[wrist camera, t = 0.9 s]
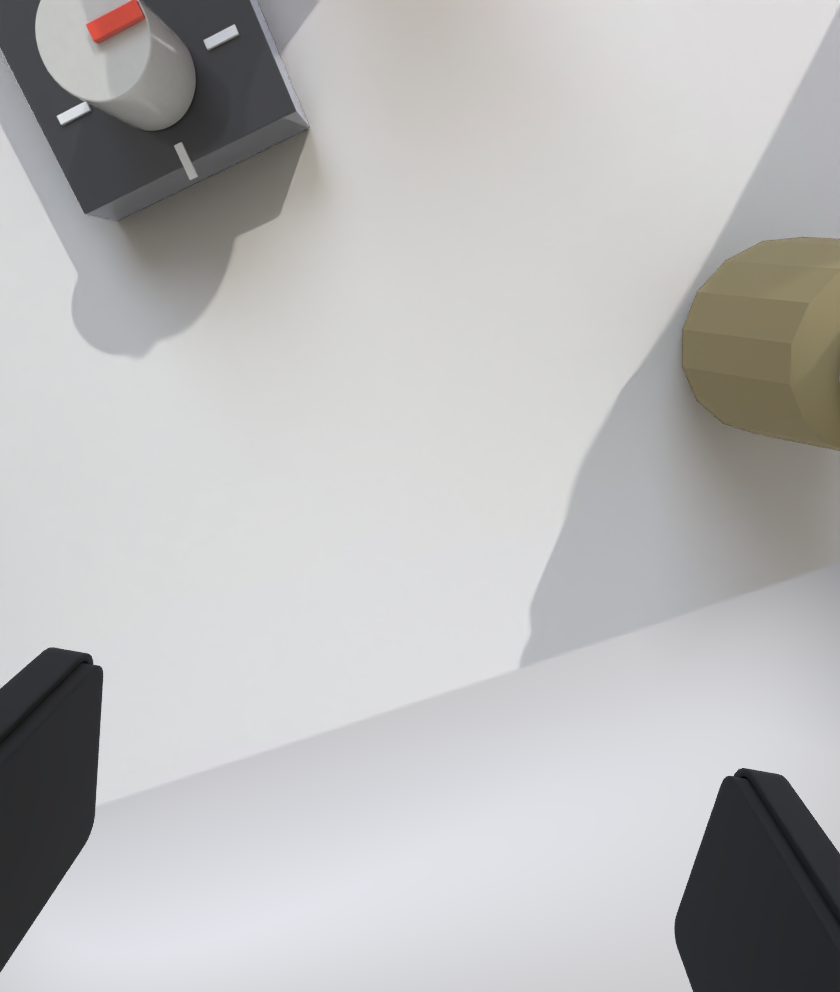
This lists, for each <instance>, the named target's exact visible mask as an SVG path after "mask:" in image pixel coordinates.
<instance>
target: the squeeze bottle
mask: <svg viewBox="0 0 840 992" xmlns="http://www.w3.org/2000/svg"><path fill="white" fill-rule="evenodd" d="M682 368H683V370H684V372H685V374H686V377H687V379H688V381H689V384H690V386H691V388H692V390H693V393H694V395H695V397H696V400H697V401H698V402H699V403H700V404H702V405H703V406H704V407H705V408H706V409H707V410H708V411H709V412H711V413H712V414H713V415H714V416H715V417H716V418H717V419H718V420H720V421H721V422H722V423H723V424H726V425H730V426H733V427H736V428H739V429H742V430H746V431H749V432H752V433H755V434H759V435H764V436H769V437H774V438H779V439H784V440H789V441H794V442H799V443H804V444H809V445H814V446H819V447H824V448H829V449H834V450H839V451H840V239H832V238H812V237H798V238H789V239H779V240H770V241H762V242H760V243H758V244H756V245H754V246H752V247H751V248H749V249H747V250H745V251H743V252H741V253H739V254H737V255H735V256H733V257H731V258H730V259H728V260H726V261H725V262H724V263H723V264H722V265H721V266H720V267H719V268H718V269H717V271H716V272H715V273H714V274H713V275H712V276H711V277H710V278H709V279H708V281H707V282H706V283H705V284H704V285H703V286H702V287H701V288H700V289H699V291H698V292H697V294H696V296H695V299H694V301H693V303H692V306H691V308H690V311H689V313H688V316H687V318H686V321H685V324H684V326H683V329H682Z"/></svg>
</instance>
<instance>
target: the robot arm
mask: <svg viewBox="0 0 840 992" xmlns="http://www.w3.org/2000/svg"><path fill="white" fill-rule="evenodd" d="M102 686H103V670H102V668H101V667H100V666H97V665H93V659H92V656H91V655H90V654H87V653H82V652H76V651H70V650H64V649H59V648H48V649H46V650H44V651H43V652H42V653H41V654H40V655H39V656H37V657H36V658H35V659H34V660H33V661H32V662H31V663H29V664H28V665H27V666H26V667H25V668H24V669H22V670H21V671H20V672H19V673H18V674H17V675H16V676H14V677H13V678H12V679H11V680H10V681H9V682H8V683H6V684H5V685H4V686H3V687H2V688H1V689H0V972H1V970H2V969H3V967H4V966H5V964H6V963H7V961H8V960H9V958H10V957H11V955H12V954H13V952H14V951H15V949H16V948H17V946H18V945H19V943H20V942H21V940H22V939H23V937H24V936H25V934H26V933H27V931H28V930H29V928H30V927H31V925H32V924H33V922H34V921H35V919H36V918H37V916H38V915H39V913H40V912H41V910H42V909H43V907H44V906H45V904H46V903H47V901H48V900H49V898H50V897H51V895H52V893H53V892H54V890H55V889H56V888H57V886H58V884H59V883H60V881H61V880H62V878H63V877H64V875H65V874H66V872H67V871H68V869H69V868H70V866H71V865H72V863H73V862H74V860H75V859H76V857H77V856H78V854H79V853H80V851H81V850H82V848H83V847H84V845H85V843H86V842H87V840H88V838H89V835H90V833H91V830H92V827H93V823H94V817H95V803H96V786H97V770H98V753H99V736H100V720H101V703H102ZM675 939H676V944H677V948H678V951H679V953H680V956H681V959H682V962H683V965H684V967H685V970H686V973H687V976H688V978H689V981H690V984H691V987H692V990H693V992H840V854H839V852H838V851H837V849H836V848H835V847H834V845H833V844H832V842H831V841H830V840H829V838H828V837H827V836H826V834H825V833H824V831H823V830H822V828H821V827H820V826H819V824H818V823H817V821H816V820H815V819H814V817H813V816H812V814H811V813H810V811H809V810H808V809H807V807H806V806H805V805H804V803H803V802H802V800H801V799H800V797H799V796H798V795H797V793H796V792H795V790H794V789H793V788H792V786H791V785H790V783H789V782H788V781H787V780H786V779H785V778H784V777H783V776H782V775H779V774H774V773H768V772H763V771H757V770H751V769H745V768H742V769H739V770H738V771H737V772H736V773H735V774H734V776H727V777H726V778H725V779H724V780H723V782H722V784H721V786H720V789H719V792H718V795H717V798H716V801H715V804H714V807H713V810H712V813H711V816H710V819H709V821H708V824H707V827H706V830H705V833H704V836H703V839H702V842H701V845H700V848H699V851H698V854H697V856H696V859H695V862H694V865H693V869H692V871H691V874H690V877H689V880H688V883H687V886H686V889H685V892H684V895H683V898H682V900H681V903H680V906H679V909H678V912H677V915H676V919H675Z"/></svg>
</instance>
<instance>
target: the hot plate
mask: <svg viewBox="0 0 840 992" xmlns="http://www.w3.org/2000/svg"><path fill="white" fill-rule="evenodd" d="M40 1H41V0H0V47H1V49H2V51H3V53H4V55H5V57H6V59H7V61H8V63H9V65H10V67H11V69H12V71H13V73H14V75H15V77H16V79H17V81H18V83H19V85H20V87H21V89H22V91H23V93H24V95H25V97H26V99H27V101H28V103H29V105H30V107H31V109H32V111H33V113H34V115H35V117H36V119H37V121H38V123H39V124H40V126H41V128H42V130H43V132H44V134H45V136H46V138H47V140H48V142H49V144H50V146H51V148H52V150H53V152H54V154H55V156H56V158H57V160H58V162H59V164H60V166H61V168H62V170H63V172H64V174H65V176H66V178H67V180H68V182H69V184H70V186H71V188H72V190H73V192H74V194H75V196H76V198H77V200H78V201H79V203H80V205H81V207H82V209H83V211H84V213H85V214H87V215H91V216H95V217H100V218H104V219H109V220H113V221H119V220H121V219H123V218H125V217H127V216H129V215H131V214H133V213H135V212H137V211H139V210H141V209H143V208H145V207H147V206H150V205H152V204H154V203H156V202H158V201H160V200H162V199H164V198H166V197H168V196H170V195H172V194H174V193H176V192H178V191H180V190H182V189H185V188H187V187H189V186H191V185H193V184H195V183H197V182H199V181H201V180H203V179H205V178H207V177H209V176H211V175H213V174H215V173H218V172H220V171H222V170H224V169H226V168H228V167H230V166H232V165H234V164H236V163H238V162H240V161H242V160H244V159H246V158H248V157H251V156H253V155H255V154H257V153H259V152H261V151H263V150H265V149H267V148H269V147H271V146H273V145H275V144H277V143H279V142H281V141H283V140H286V139H288V138H290V137H292V136H294V135H296V134H298V133H300V132H302V131H304V130H306V129H308V128H309V127H310V126H309V124H308V121H307V119H306V117H305V114H304V112H303V109H302V107H301V105H300V102H299V100H298V97H297V95H296V93H295V90H294V88H293V86H292V83H291V81H290V78H289V76H288V74H287V71H286V69H285V66H284V64H283V62H282V59H281V57H280V54H279V52H278V50H277V47H276V45H275V42H274V40H273V38H272V35H271V33H270V31H269V28H268V26H267V23H266V21H265V19H264V16H263V14H262V11H261V9H260V7H259V4H258V2H257V0H142V1H143V2H144V3H145V4H146V5H147V6H148V7H149V8H150V9H151V10H152V11H153V12H154V13H155V14H157V15H158V16H159V17H160V18H161V19H162V20H163V21H164V22H165V23H166V24H167V25H168V26H169V27H170V28H171V29H172V30H173V31H174V32H175V33H176V34H177V35H178V36H179V37H180V38H181V39H182V41H183V42H184V44H185V45H186V47H187V48H188V50H189V52H190V55H191V57H192V60H193V64H194V67H195V75H196V85H195V92H194V97H193V99H192V102H191V104H190V106H189V108H188V110H187V112H186V113H185V114H184V116H183V117H182V118H181V119H180V120H179V121H177V122H176V123H175V124H173V125H171V126H170V127H167V128H165V129H162V130H157V131H145V130H140V129H137V128H134V127H132V126H130V125H128V124H126V123H124V122H122V121H120V120H118V119H116V118H115V117H113V116H111V115H109V114H107V113H105V112H103V111H102V110H100V109H98V108H96V107H94V106H92V105H90V104H88V103H87V102H85V101H83V100H81V99H79V98H77V97H75V96H74V95H72V94H70V93H69V92H67V91H66V90H65V89H63V88H62V87H61V86H60V85H59V84H58V83H57V82H56V81H55V80H54V79H53V77H52V76H51V75H50V73H49V72H48V70H47V68H46V67H45V65H44V63H43V61H42V58H41V56H40V53H39V50H38V46H37V41H36V33H35V22H36V15H37V10H38V7H39V4H40Z"/></svg>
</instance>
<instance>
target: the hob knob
mask: <svg viewBox="0 0 840 992" xmlns="http://www.w3.org/2000/svg"><path fill="white" fill-rule="evenodd" d="M35 33H36V41H37V46H38V50H39V53H40V56H41V58H42V61H43V63H44V65H45V67H46V68H47V70H48V72H49V73H50V75H51V76H52V77H53V79H54V80H55V81H56V82H57V83H58V84H59V85H60V86H61V87H62V88H63V89H65V90H66V91H67V92H69V93H70V94H72V95H74V96H75V97H77V98H79V99H81V100H83V101H85V102H87V103H88V104H90V105H92V106H94V107H96V108H98V109H100V110H102V111H103V112H105V113H107V114H109V115H111V116H113V117H115V118H116V119H118V120H120V121H122V122H124V123H126V124H128V125H130V126H132V127H134V128H137V129H140V130H145V131H157V130H162V129H165V128H167V127H170V126H171V125H173V124H175V123H176V122H177V121H179V120H180V119H181V118H182V117H183V116H184V114H185V113H186V112H187V110H188V108H189V106H190V104H191V102H192V99H193V97H194V92H195V85H196V75H195V67H194V64H193V60H192V57H191V55H190V52H189V50H188V48H187V47H186V45H185V44H184V42H183V41H182V39H181V38H180V37H179V36H178V35H177V34H176V33H175V32H174V31H173V30H172V29H171V28H170V27H169V26H168V25H167V24H166V23H165V22H164V21H163V20H162V19H161V18H160V17H159V16H158V15H157V14H155V13H154V12H153V11H152V10H151V9H150V8H149V7H148V6H147V5H146V4H145V3H144V2H143V1H142V0H41V1H40V4H39V7H38V10H37V15H36V22H35Z"/></svg>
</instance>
